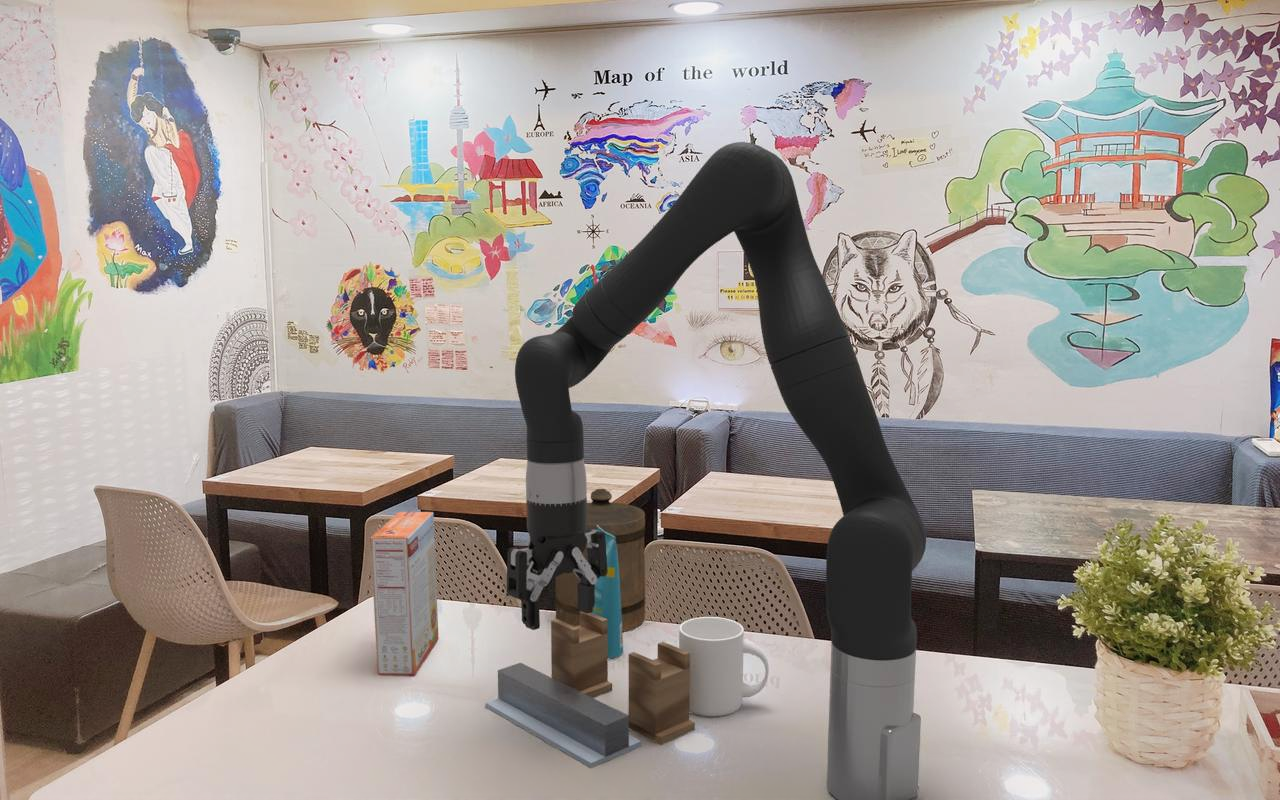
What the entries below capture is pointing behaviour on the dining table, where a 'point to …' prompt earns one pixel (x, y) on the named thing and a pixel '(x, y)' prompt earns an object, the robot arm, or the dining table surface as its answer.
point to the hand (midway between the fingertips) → (559, 619)
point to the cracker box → (404, 592)
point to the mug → (718, 664)
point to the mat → (555, 735)
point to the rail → (564, 709)
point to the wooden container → (631, 559)
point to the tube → (610, 598)
